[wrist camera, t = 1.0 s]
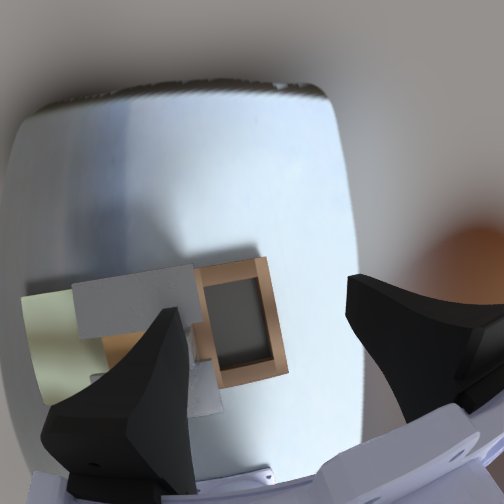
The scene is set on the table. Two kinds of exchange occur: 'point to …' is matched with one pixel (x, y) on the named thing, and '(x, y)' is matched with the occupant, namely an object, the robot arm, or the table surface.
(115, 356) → the block
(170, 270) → the tunnel
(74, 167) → the table surface
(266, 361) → the board
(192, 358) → the paddle
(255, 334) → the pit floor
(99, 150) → the table surface
